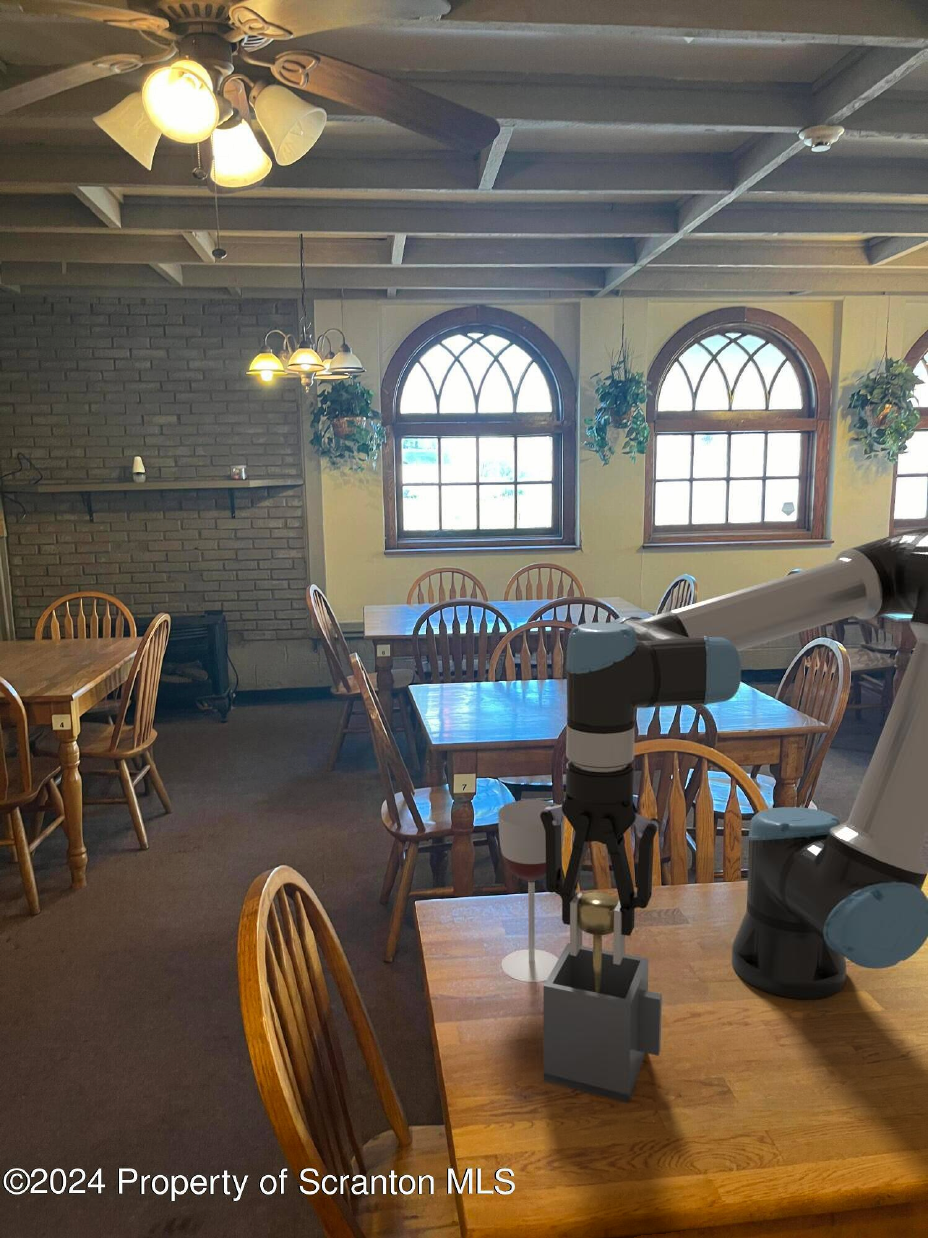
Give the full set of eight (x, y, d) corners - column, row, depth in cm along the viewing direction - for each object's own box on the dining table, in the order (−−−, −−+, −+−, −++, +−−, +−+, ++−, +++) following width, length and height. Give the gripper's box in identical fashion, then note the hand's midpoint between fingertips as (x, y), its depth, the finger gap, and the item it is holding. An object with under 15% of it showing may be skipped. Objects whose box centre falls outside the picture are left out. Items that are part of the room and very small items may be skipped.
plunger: (633, 1039, 107) (635, 893, 104) (619, 1076, 100) (622, 921, 97) (575, 1025, 110) (576, 883, 107) (558, 1061, 103) (559, 910, 100)
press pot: (666, 1054, 107) (668, 962, 105) (650, 1108, 98) (652, 1009, 96) (567, 1031, 112) (567, 943, 110) (543, 1081, 103) (543, 985, 101)
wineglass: (573, 955, 130) (574, 805, 126) (550, 991, 121) (550, 830, 117) (514, 942, 134) (514, 796, 130) (488, 976, 125) (486, 820, 121)
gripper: (684, 759, 100) (678, 952, 103) (535, 743, 106) (535, 925, 110) (673, 781, 93) (667, 986, 96) (515, 762, 99) (515, 955, 103)
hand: (597, 953), depth 103 cm, fingers closed on plunger, 4 cm apart
